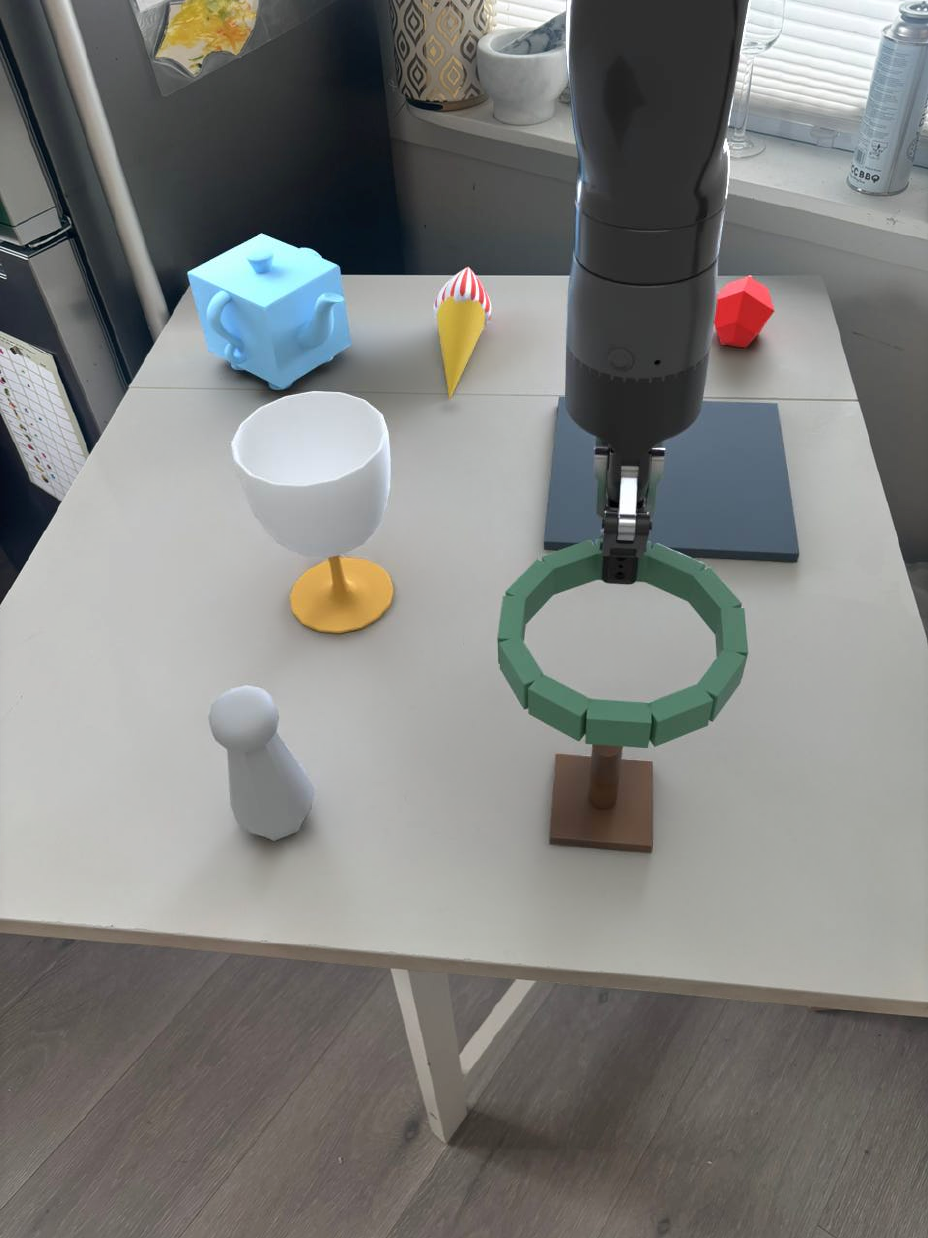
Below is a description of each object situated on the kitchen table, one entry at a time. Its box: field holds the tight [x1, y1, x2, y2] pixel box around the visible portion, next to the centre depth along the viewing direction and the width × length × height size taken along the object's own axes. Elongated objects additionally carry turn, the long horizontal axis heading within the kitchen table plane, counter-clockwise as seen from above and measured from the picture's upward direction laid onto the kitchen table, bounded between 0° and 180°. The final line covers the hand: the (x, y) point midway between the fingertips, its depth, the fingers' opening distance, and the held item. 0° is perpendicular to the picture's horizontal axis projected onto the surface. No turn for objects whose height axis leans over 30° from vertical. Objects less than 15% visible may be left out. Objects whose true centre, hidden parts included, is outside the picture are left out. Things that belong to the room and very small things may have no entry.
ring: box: [496, 539, 749, 749], centre depth 59 cm, size 14×14×2 cm
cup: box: [230, 390, 395, 634], centre depth 80 cm, size 12×12×17 cm
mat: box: [543, 395, 800, 563], centre depth 94 cm, size 22×22×1 cm
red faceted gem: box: [714, 275, 775, 349], centre depth 108 cm, size 7×7×8 cm
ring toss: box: [548, 744, 654, 854], centre depth 68 cm, size 7×7×8 cm
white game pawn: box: [208, 685, 315, 842], centre depth 67 cm, size 6×6×13 cm
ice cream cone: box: [432, 266, 493, 401], centre depth 110 cm, size 6×6×20 cm
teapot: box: [186, 233, 352, 391], centre depth 105 cm, size 18×16×13 cm
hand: (619, 568), depth 64 cm, fingers closed on ring, 1 cm apart
